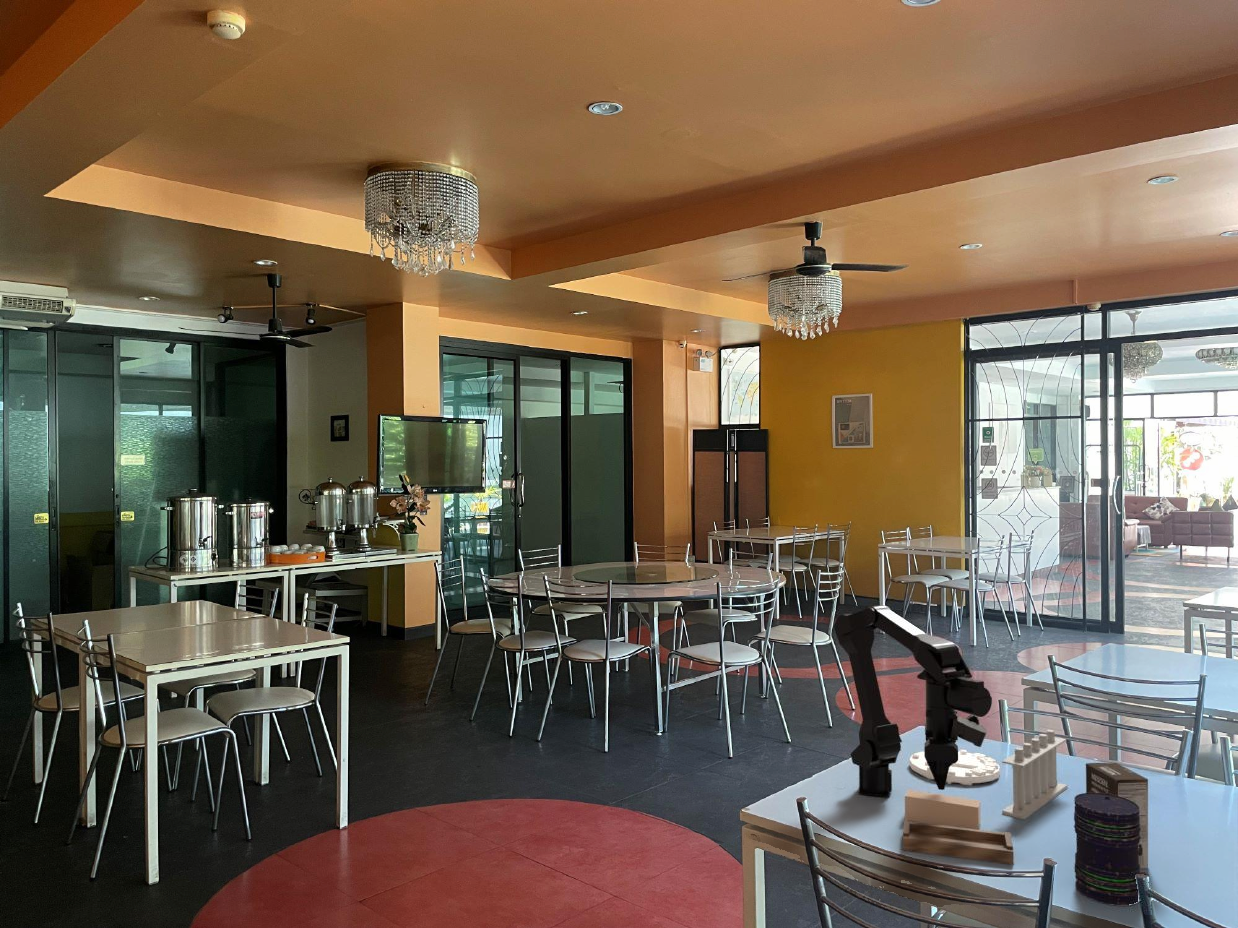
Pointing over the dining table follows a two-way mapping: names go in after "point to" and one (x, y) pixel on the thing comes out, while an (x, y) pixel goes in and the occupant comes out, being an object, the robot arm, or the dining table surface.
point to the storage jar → (1107, 848)
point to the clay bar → (942, 810)
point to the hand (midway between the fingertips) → (941, 781)
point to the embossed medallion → (961, 768)
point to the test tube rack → (1034, 775)
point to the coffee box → (1122, 794)
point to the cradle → (958, 842)
